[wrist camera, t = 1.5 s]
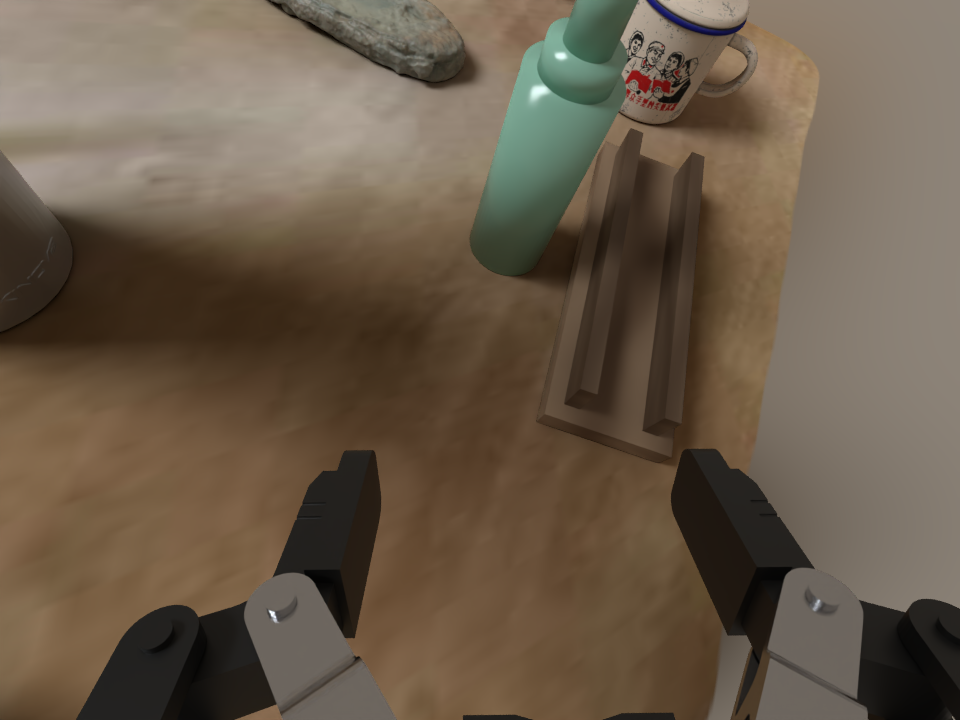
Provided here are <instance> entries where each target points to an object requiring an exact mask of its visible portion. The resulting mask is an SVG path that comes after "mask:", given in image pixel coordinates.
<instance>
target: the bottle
mask: <svg viewBox="0 0 960 720" xmlns="http://www.w3.org/2000/svg"><path fill="white" fill-rule="evenodd" d="M638 1H639V0H576V1H575V3H574V6H573V9H572V12H571V15H570V17H567V18H562V19H559V20H557V21H555V22H554V23H552V24H551V26H550V27H549V29H548V32H547V35H546V38H545V40H543V41H540V42H537V43H535V44H534V45H532V46H531V47H530V48H529V49H528V50H527V51H526V53H525V55H524V57H523V61H522V64H521V67H520V71H519V74H518V77H517V81H516V84H515V87H514V91H513V94H512V97H511V100H510V104H509V107H508V110H507V114H506V117H505V120H504V124H503V127H502V130H501V134H500V137H499V140H498V144H497V147H496V150H495V154H494V157H493V160H492V164H491V167H490V170H489V174H488V177H487V180H486V184H485V187H484V190H483V194H482V197H481V200H480V204H479V207H478V210H477V214H476V217H475V220H474V224H473V227H472V230H471V234H470V247H471V250H472V252H473V254H474V256H475V257H476V259H477V260H478V261H479V262H480V263H481V264H482V265H483V266H484V267H486V268H487V269H489V270H491V271H493V272H495V273H498V274H501V275H507V276H517V275H522V274H525V273H527V272H529V271H530V270H532V269H533V268H534V267H535V266H536V265H537V263H538V262H539V260H540V258H541V256H542V254H543V252H544V250H545V249H546V247H547V245H548V243H549V241H550V239H551V237H552V235H553V234H554V232H555V230H556V228H557V226H558V224H559V222H560V220H561V219H562V217H563V215H564V213H565V211H566V209H567V207H568V205H569V204H570V202H571V200H572V198H573V196H574V194H575V192H576V190H577V189H578V187H579V185H580V183H581V181H582V179H583V177H584V175H585V174H586V172H587V170H588V168H589V166H590V164H591V162H592V160H593V159H594V157H595V155H596V153H597V151H598V149H599V147H600V145H601V144H602V142H603V140H604V138H605V136H606V134H607V132H608V131H609V129H610V127H611V125H612V123H613V121H614V119H615V117H616V116H617V114H618V112H619V110H620V108H621V106H622V104H623V102H624V101H625V98H626V92H627V90H626V84H625V81H624V78H623V76H622V72H623V70H624V68H625V66H626V63H627V59H628V55H627V51H626V48H625V46H624V44H623V43H622V42H621V40H620V39H621V37H622V35H623V33H624V31H625V29H626V26H627V24H628V22H629V20H630V18H631V16H632V14H633V11H634V9H635V7H636V5H637V3H638Z"/></svg>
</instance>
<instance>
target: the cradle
mask: <svg viewBox="0 0 960 720" xmlns="http://www.w3.org/2000/svg"><path fill="white" fill-rule="evenodd" d="M642 137H643V133H642V132H639V131H637V130H634V129H632V128H631V129H630V130H629V132H628V134H627V136H626V137H625V139H624V141H623V142H622V144H621V146H620V147H619V146H616V145H614V144H611V143H609V142H605V144H604V146H603V147H602V149H601V151H600V153H599V155H598V158H597V162H596V166H595V171H594V175H593V179H592V184H591V188H590V192H589V197H588V201H587V205H586V210H585V214H584V218H583V223H582V227H581V231H580V235H579V240H578V244H577V248H576V253H575V257H574V261H573V266H572V270H571V274H570V279H569V283H568V287H567V292H566V296H565V300H564V305H563V309H562V313H561V318H560V322H559V326H558V331H557V335H556V339H555V344H554V348H553V352H552V357H551V361H550V365H549V370H548V374H547V378H546V383H545V387H544V391H543V396H542V400H541V404H540V409H539V413H538V417H537V422H539V423H542V424H545V425H548V426H551V427H554V428H556V429H559V430H562V431H565V432H568V433H571V434H574V435H577V436H580V437H583V438H586V439H589V440H592V441H595V442H598V443H601V444H604V445H607V446H609V447H612V448H615V449H618V450H621V451H624V452H627V453H630V454H633V455H636V456H639V457H642V458H645V459H648V460H651V461H654V462H657V463H660V462H662V461H664V460H667V459H669V458H671V457H672V449H673V438H674V428H675V427H677V426H678V425H680V424H682V413H683V402H684V390H685V379H686V367H687V355H688V344H689V332H690V320H691V309H692V297H693V285H694V274H695V262H696V250H697V239H698V227H699V215H700V204H701V192H702V180H703V169H704V156H701V155H699V154H696V153H693V152H692V153H691V155H690V156H689V157H688V159H687V160H686V161H685V163H684V164H683V165H682V166H681V168H680V169H676V168H673V167H671V166H668V165H666V164H663V163H660V162H658V161H655V160H653V159H650V158H647V157H645V156H642V155H640V148H641V143H642Z"/></svg>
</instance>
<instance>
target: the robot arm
mask: <svg viewBox="0 0 960 720" xmlns="http://www.w3.org/2000/svg"><path fill="white" fill-rule="evenodd" d="M72 257H73V249H72V245H71V241H70V238H69V236H68V234H67V233H66V231H65V229H64V228H63V226H62V225H61V223H60V222H59V221H58V220H57V219H56V217H55V216H54V215H53V214H52V213H51V211H50V210H49V209H48V208H47V207H46V205H45V204H44V203H43V202H42V201H41V199H40V198H39V197H38V196H37V194H36V193H35V192H34V191H33V190H32V188H31V187H30V186H29V185H28V184H27V182H26V181H25V180H24V179H23V177H22V176H21V175H20V173H19V172H18V171H17V170H16V169H15V167H14V166H13V165H12V164H11V163H10V161H9V160H8V159H7V158H6V157H5V155H4V154H3V153H2V152H1V151H0V332H1V331H4V330H7V329H9V328H11V327H13V326H15V325H17V324H19V323H21V322H23V321H25V320H27V319H28V318H30V317H31V316H33V315H34V314H36V313H37V312H38V311H40V310H41V309H43V308H44V307H45V306H46V305H47V304H48V303H49V302H50V301H51V300H52V299H53V298H54V297H55V296H56V295H57V294H58V292H59V291H60V289H61V288H62V286H63V285H64V283H65V282H66V280H67V278H68V275H69V272H70V269H71V266H72ZM671 505H672V511H673V514H674V517H675V519H676V521H677V524H678V526H679V528H680V530H681V533H682V535H683V537H684V539H685V541H686V544H687V546H688V548H689V550H690V553H691V555H692V557H693V559H694V561H695V564H696V566H697V568H698V570H699V573H700V575H701V577H702V579H703V581H704V584H705V586H706V588H707V590H708V593H709V595H710V597H711V599H712V601H713V604H714V606H715V608H716V610H717V613H718V615H719V617H720V619H721V621H722V624H723V626H724V628H725V630H726V632H727V635H747V637H748V639H749V641H750V643H751V645H752V647H751V649H750V652H749V654H748V658H747V661H746V665H745V669H744V673H743V676H742V680H741V683H740V687H739V691H738V695H737V698H736V702H735V705H734V709H733V713H732V716H731V720H953V719H952V716H953V717H954V718H955V720H960V609H959V608H957V607H955V606H953V605H950V604H948V603H945V602H942V601H938V600H933V599H921V600H917V601H915V602H914V603H912V604H911V606H910V607H909V609H908V610H907V611H906V613H905V612H901V611H898V610H894V609H890V608H886V607H882V606H878V605H875V604H871V603H867V602H864V601H860V600H858V599H857V597H856V596H855V595H854V594H853V592H852V591H851V590H850V589H849V588H848V587H847V586H846V585H844V584H843V583H842V582H840V581H839V580H837V579H836V578H834V577H833V576H831V575H829V574H827V573H824V572H822V571H819V570H815V568H814V567H813V566H812V564H811V563H810V561H809V560H808V558H807V557H806V555H805V554H804V552H803V551H802V549H801V548H800V547H799V545H798V544H797V542H796V541H795V539H794V538H793V536H792V535H791V533H790V532H789V530H788V529H787V528H786V526H785V525H784V523H783V522H782V520H781V519H780V517H777V513H776V511H775V510H774V508H773V507H772V506H771V504H770V503H768V501H767V498H766V497H765V495H764V494H763V492H762V491H761V490H760V488H759V487H758V485H757V484H756V483H755V482H754V481H753V480H752V479H750V478H749V477H748V476H747V475H745V474H744V473H743V472H742V471H740V470H739V469H730V468H729V467H728V465H727V463H726V462H725V460H724V459H723V457H722V456H721V454H720V453H719V451H717V450H716V449H685V450H684V451H683V452H682V455H681V458H680V462H679V465H678V469H677V473H676V477H675V481H674V484H673V488H672V492H671ZM380 512H381V491H380V483H379V476H378V469H377V461H376V455H375V452H374V451H373V450H352V451H344V453H343V455H342V458H341V461H340V464H339V467H338V470H337V471H323V472H322V473H321V474H320V475H319V476H318V477H317V478H316V479H315V480H314V481H313V482H312V483H311V484H310V485H309V487H308V490H307V492H306V495H305V497H304V500H303V505H302V506H301V508H300V510H299V513H298V515H297V520H295V523H294V525H293V528H292V530H291V533H290V535H289V538H288V541H287V543H286V546H285V548H284V551H283V553H282V556H281V558H280V561H279V563H278V566H277V568H276V571H275V573H274V575H273V577H272V578H271V579H269V580H267V581H266V582H264V583H263V584H262V585H260V586H259V587H258V588H257V589H256V590H255V591H254V592H253V594H252V595H251V596H250V598H249V600H248V601H246V602H244V603H242V604H240V605H237V606H234V607H231V608H228V609H224V610H221V611H218V612H214V613H211V614H208V615H204V616H201V617H198V616H197V614H196V613H195V611H194V610H192V609H191V608H189V607H187V606H183V605H171V606H166V607H162V608H160V609H157V610H155V611H153V612H151V613H149V614H147V615H145V616H144V617H142V618H141V619H140V620H138V621H137V622H136V623H135V624H134V625H133V626H132V627H131V628H130V629H129V630H128V631H127V632H126V633H125V634H124V636H123V637H122V639H121V640H120V642H119V644H118V645H117V647H116V649H115V651H114V653H113V654H112V656H111V658H110V660H109V662H108V663H107V665H106V667H105V669H104V671H103V672H102V674H101V676H100V678H99V680H98V681H97V683H96V685H95V687H94V689H93V690H92V692H91V694H90V696H89V697H88V699H87V701H86V703H85V705H84V706H83V708H82V710H81V712H80V714H79V715H78V717H77V719H76V720H235V719H238V718H240V717H243V716H246V715H249V714H251V713H254V712H257V711H260V710H262V709H265V708H268V707H270V706H273V705H276V704H277V706H278V708H279V711H280V714H281V716H282V719H283V720H397V719H396V717H395V716H394V714H393V712H392V710H391V709H390V707H389V705H388V703H387V701H386V700H385V698H384V696H383V694H382V693H381V691H380V689H379V687H378V685H377V684H376V682H375V680H374V678H373V677H372V675H371V673H370V671H369V670H368V668H367V666H366V665H365V663H364V662H363V660H362V659H361V658H360V657H359V656H358V657H356V656H355V655H354V654H353V652H352V650H351V649H350V647H349V645H348V643H347V641H346V640H345V638H355V634H356V629H357V624H358V619H359V615H360V610H361V605H362V600H363V596H364V591H365V586H366V581H367V576H368V572H369V567H370V562H371V557H372V552H373V548H374V543H375V538H376V533H377V528H378V524H379V519H380ZM463 720H532V719H528V718H525V717H521V716H517V715H463ZM604 720H675V717H674V714H673V713H622V714H619V715H616V716H613V717H610V718H607V719H604Z"/></svg>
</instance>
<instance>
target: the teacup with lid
mask: <svg viewBox="0 0 960 720" xmlns="http://www.w3.org/2000/svg"><path fill="white" fill-rule="evenodd" d="M748 13H749V0H639V1H638V3H637V5H636V7H635V9H634V11H633V14H632V16H631V18H630V20H629V22H628V24H627V26H626V29H625V31H624V33H623V35H622V37H621V39H620V40H621V42H622V43H623V44H624V46H625V48H626V51H627V55H628V59H627V63H626V66H625V68H624V70H623V72H622V76H623V78H624V81H625V84H626V90H627V92H626V98H625V101H624V102H623V104H622V106H621V108H620V110H619V112H620V113H622V114H624V115H625V116H627V117H629V118H632V119H634V120H637V121H640V122H644V123H650V124H662V123H667V122H670V121H672V120H674V119H675V118H677V117H678V116H679V115H680V114H681V113H682V111H683V110H684V108H685V107H686V105H687V104H688V102H689V101H690V99H691V98H692V96H693V95H694V93H698V94H700V95H703V96H706V97H712V98H717V97H723V96H726V95H728V94H731V93H733V92H734V91H736V90H738V89H739V88H740V87H742V86H743V85H744V84H745V83H746V82H747V81H748V80H749V79H750V77H751V76H752V74H753V73H754V71H755V69H756V66H757V61H758V54H757V50H756V47H755V46H754V44H753V43H752V42H751V41H750V40H749V39H747V38H745V37H744V36H741V35H739V34H737V33H735V32H737V31H739V30H740V29H741V28H742V27H743V26H744V24H745V22H746V19H747V16H748ZM726 46H730V47H732V48H734V49H736V50H738V51H740V52H742V53H743V54H744V55H745V57H746V59H747V63H748V65H747V67H746V68H745V70H744V71H743V72H742V73H741V74H740V75H739V76H738V77H736V78H735V79H733V80H732V81H730V82H728V83H725V84H721V85H713V84H709V83H706V82H704V81H703V80H704V78H705V77H706V75H707V74H708V72H709V71H710V69H711V68H712V66H713V65H714V63H715V62H716V60H717V59H718V57H719V56H720V54H721V53H722V51H723V50H724V48H725V47H726Z"/></svg>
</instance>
